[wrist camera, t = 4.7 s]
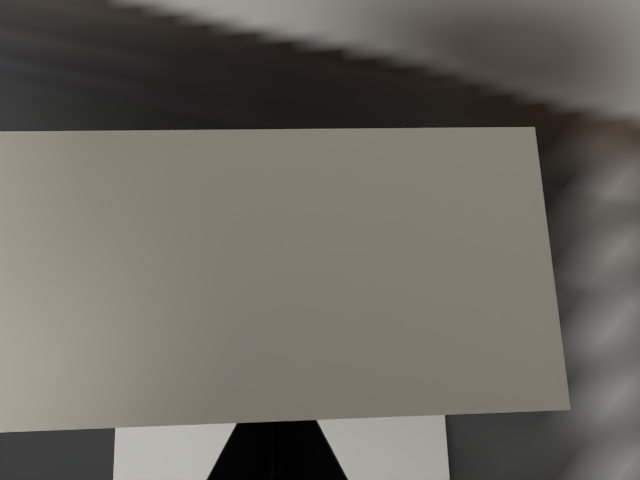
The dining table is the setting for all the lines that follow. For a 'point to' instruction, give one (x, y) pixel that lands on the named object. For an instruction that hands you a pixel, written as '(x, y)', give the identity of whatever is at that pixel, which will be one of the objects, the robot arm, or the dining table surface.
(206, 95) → the dining table surface
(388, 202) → the handle
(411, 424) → the fader deck
